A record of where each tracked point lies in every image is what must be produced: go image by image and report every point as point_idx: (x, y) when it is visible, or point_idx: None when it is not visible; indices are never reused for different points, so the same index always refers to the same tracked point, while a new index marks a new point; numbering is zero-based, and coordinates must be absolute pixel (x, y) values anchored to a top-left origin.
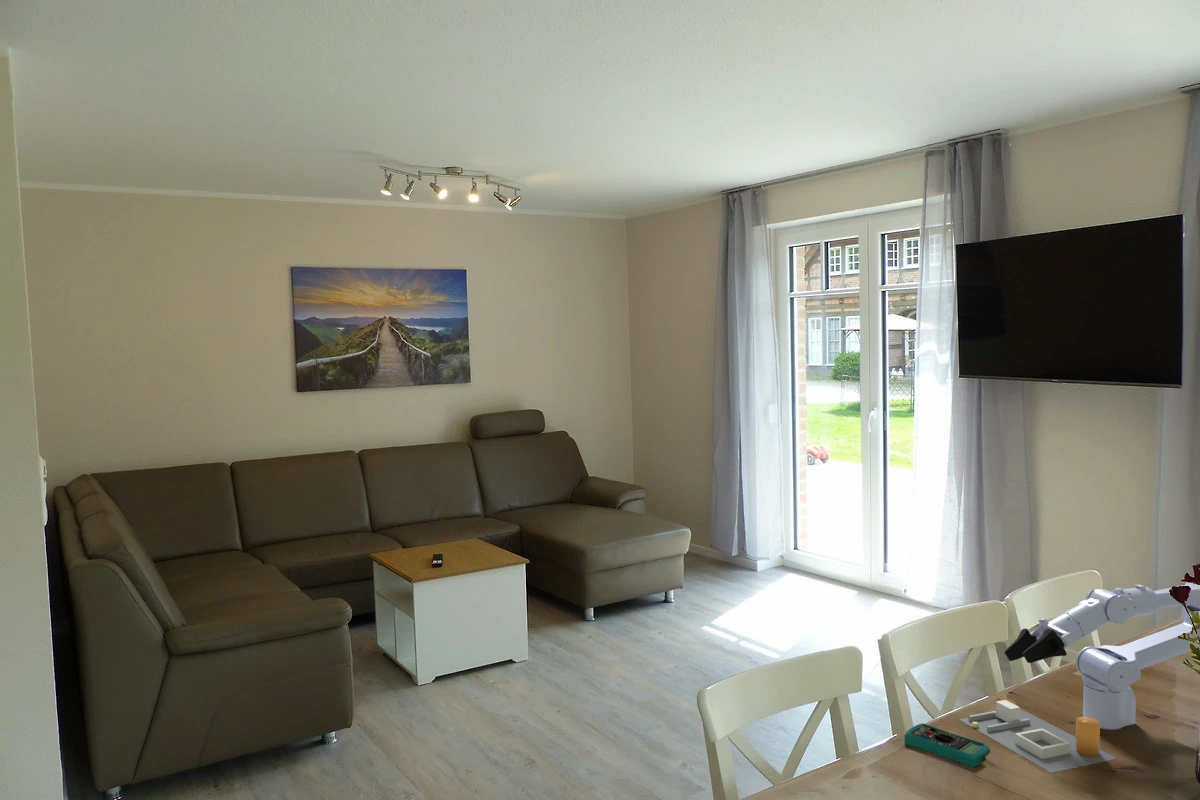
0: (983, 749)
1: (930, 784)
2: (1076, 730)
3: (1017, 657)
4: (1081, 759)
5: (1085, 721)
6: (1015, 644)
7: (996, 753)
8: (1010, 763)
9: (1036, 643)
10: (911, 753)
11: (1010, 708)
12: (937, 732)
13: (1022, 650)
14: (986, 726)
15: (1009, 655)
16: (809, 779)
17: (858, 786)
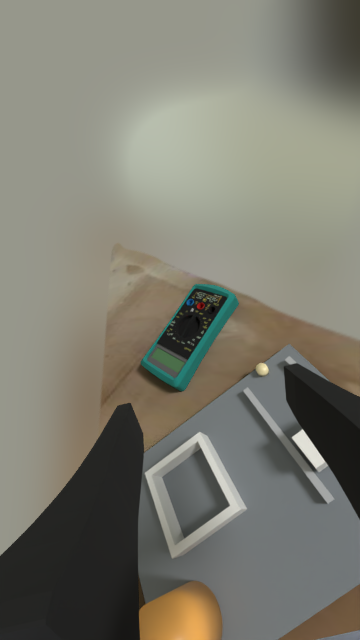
0: (160, 376)
1: (115, 327)
2: (173, 593)
3: (306, 428)
4: (158, 571)
5: (155, 638)
6: (324, 404)
7: (192, 403)
8: (163, 420)
9: (83, 464)
10: (176, 302)
11: (296, 437)
12: (206, 316)
13: (338, 454)
14: (271, 391)
15: (289, 388)
16: (125, 249)
17: (114, 278)
